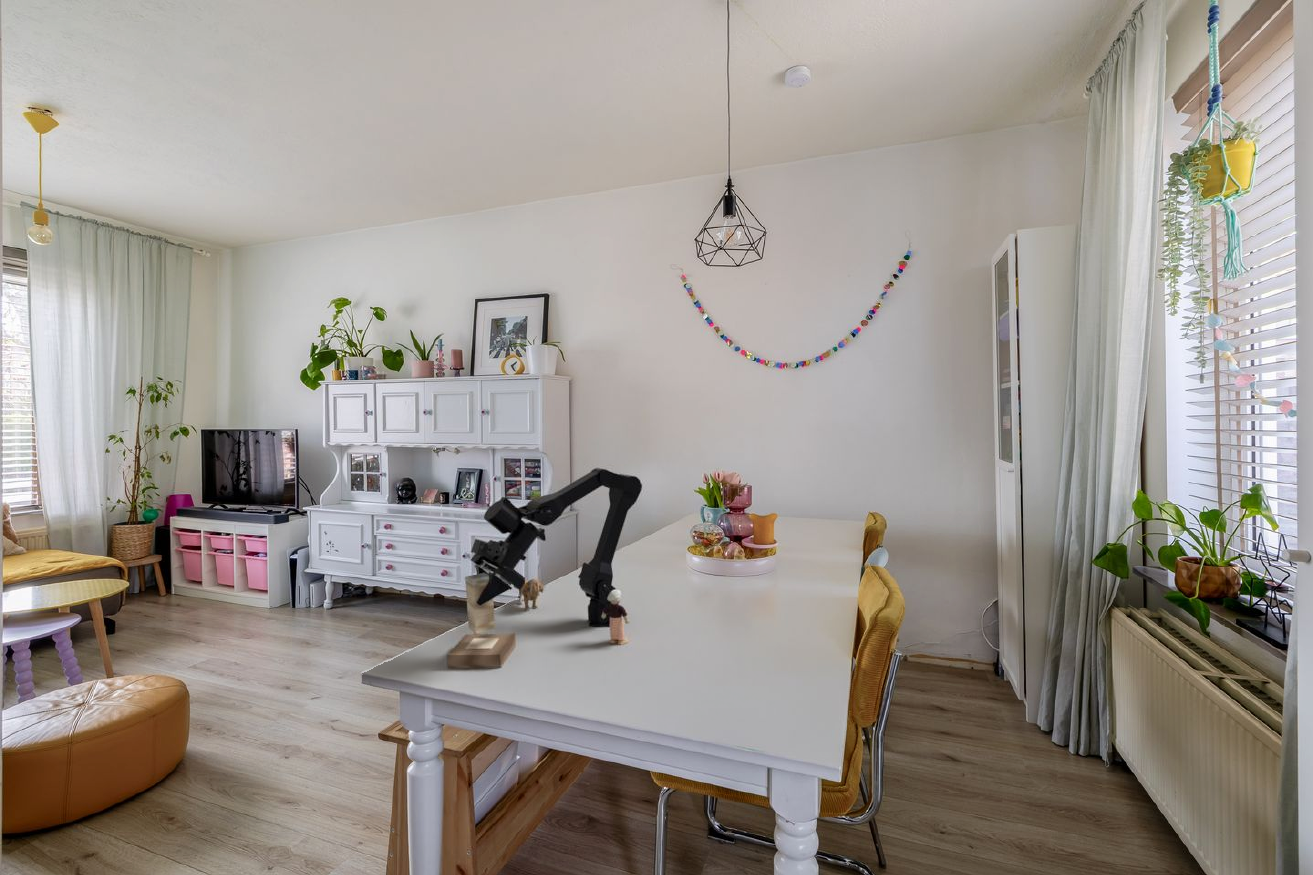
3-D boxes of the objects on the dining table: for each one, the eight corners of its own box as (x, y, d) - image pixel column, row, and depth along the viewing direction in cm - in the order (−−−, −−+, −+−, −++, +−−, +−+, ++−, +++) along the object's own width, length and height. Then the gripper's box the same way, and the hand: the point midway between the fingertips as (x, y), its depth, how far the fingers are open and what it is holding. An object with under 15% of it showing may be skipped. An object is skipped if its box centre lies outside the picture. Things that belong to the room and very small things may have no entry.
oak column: (487, 623, 154) (484, 572, 153) (495, 628, 150) (492, 576, 149) (468, 628, 151) (464, 576, 150) (476, 633, 148) (472, 581, 147)
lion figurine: (548, 610, 181) (546, 578, 181) (530, 615, 178) (528, 582, 178) (526, 597, 193) (524, 567, 193) (508, 601, 190) (507, 571, 190)
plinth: (515, 645, 157) (515, 632, 157) (501, 667, 145) (500, 653, 145) (466, 646, 158) (465, 633, 158) (447, 668, 146) (446, 654, 146)
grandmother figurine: (634, 639, 158) (632, 588, 157) (628, 646, 155) (626, 593, 154) (605, 637, 161) (602, 586, 160) (598, 643, 157) (596, 591, 156)
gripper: (476, 519, 159) (433, 573, 153) (509, 531, 144) (463, 592, 138) (508, 545, 164) (468, 599, 158) (543, 560, 149) (500, 619, 144)
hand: (474, 601), depth 149 cm, fingers closed on oak column, 4 cm apart
